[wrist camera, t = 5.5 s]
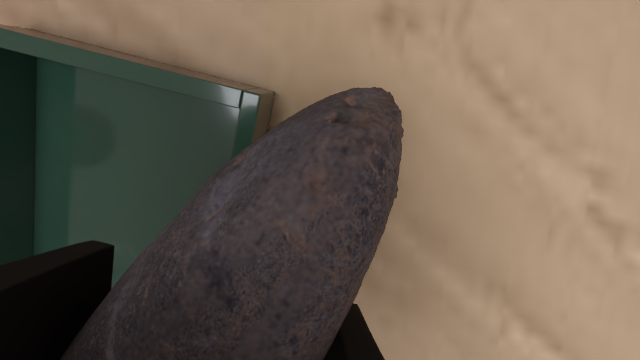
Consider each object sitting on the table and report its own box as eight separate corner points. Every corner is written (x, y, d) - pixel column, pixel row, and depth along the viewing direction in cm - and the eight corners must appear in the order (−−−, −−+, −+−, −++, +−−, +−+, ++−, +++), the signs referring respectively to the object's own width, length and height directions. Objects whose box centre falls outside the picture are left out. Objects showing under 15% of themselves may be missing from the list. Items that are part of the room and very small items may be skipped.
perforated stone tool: (311, 35, 10) (242, -45, 4) (452, 146, 11) (619, 256, 4) (85, 365, 14) (-149, 621, 8) (197, 435, 15) (72, 731, 8)
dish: (275, 91, 18) (261, 94, 15) (215, 387, 23) (195, 434, 20) (28, 28, 18) (-37, 18, 15) (25, 339, 23) (-24, 379, 20)
